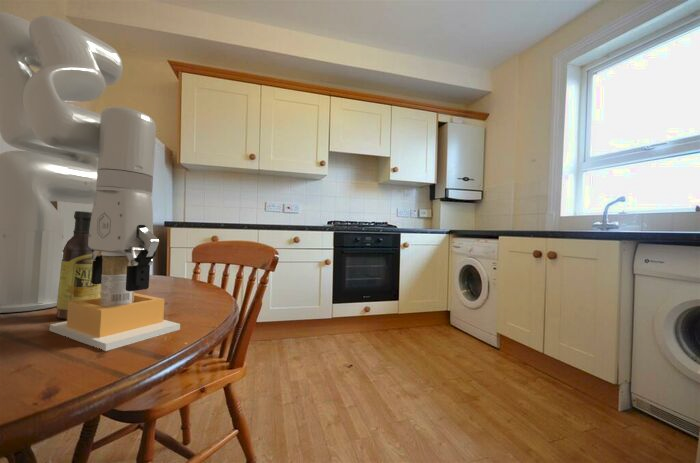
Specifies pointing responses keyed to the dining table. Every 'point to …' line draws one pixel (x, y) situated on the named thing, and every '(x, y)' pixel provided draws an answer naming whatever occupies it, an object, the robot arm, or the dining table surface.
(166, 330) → the socket base
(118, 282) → the sprinkles bottle
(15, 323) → the dining table surface
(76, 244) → the sauce bottle
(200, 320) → the dining table surface
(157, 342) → the dining table surface
